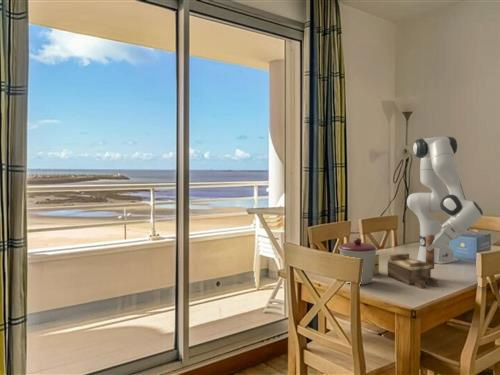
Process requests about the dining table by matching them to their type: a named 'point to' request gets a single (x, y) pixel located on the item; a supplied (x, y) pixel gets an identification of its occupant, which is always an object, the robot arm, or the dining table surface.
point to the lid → (408, 262)
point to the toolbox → (411, 276)
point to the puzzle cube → (376, 265)
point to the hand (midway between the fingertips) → (428, 248)
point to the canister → (363, 252)
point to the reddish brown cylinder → (429, 253)
